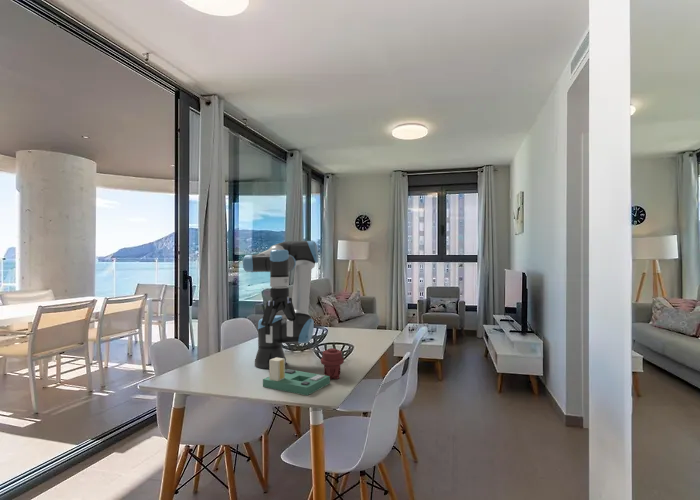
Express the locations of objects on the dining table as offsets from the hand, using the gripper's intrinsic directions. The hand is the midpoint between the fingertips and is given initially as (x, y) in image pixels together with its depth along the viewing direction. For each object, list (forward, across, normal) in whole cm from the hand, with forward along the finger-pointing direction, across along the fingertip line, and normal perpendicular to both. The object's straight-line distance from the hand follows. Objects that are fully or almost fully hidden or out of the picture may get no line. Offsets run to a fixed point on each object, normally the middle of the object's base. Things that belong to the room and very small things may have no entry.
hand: (279, 339), depth 162 cm
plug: (+16, -1, +1) cm, 16 cm away
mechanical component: (+19, +19, -14) cm, 30 cm away
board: (+19, +4, -5) cm, 20 cm away
